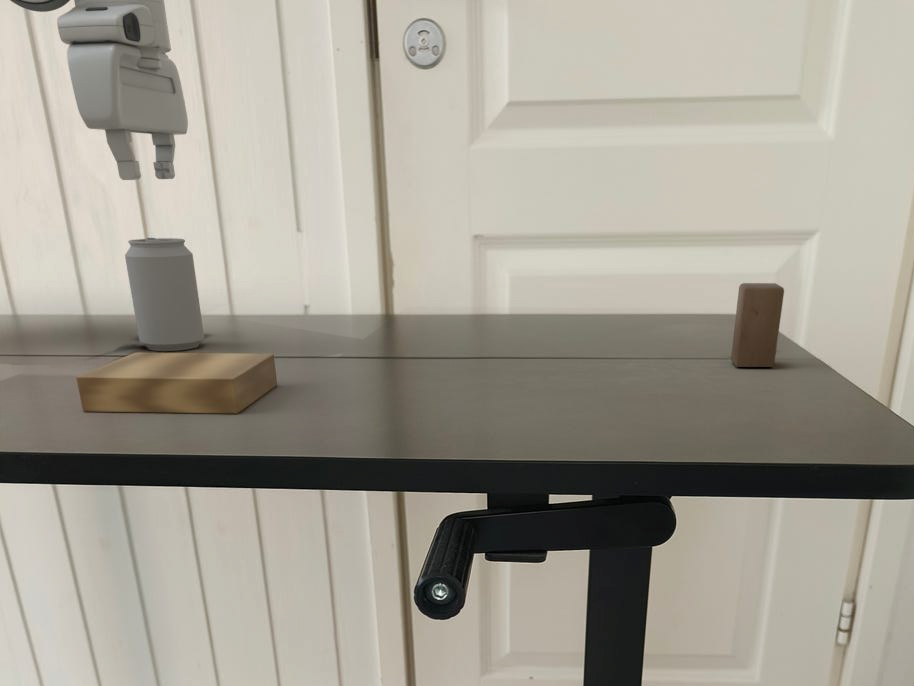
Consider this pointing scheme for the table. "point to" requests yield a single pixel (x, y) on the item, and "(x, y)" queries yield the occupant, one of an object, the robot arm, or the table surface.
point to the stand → (178, 383)
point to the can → (164, 294)
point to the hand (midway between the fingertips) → (149, 179)
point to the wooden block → (757, 324)
